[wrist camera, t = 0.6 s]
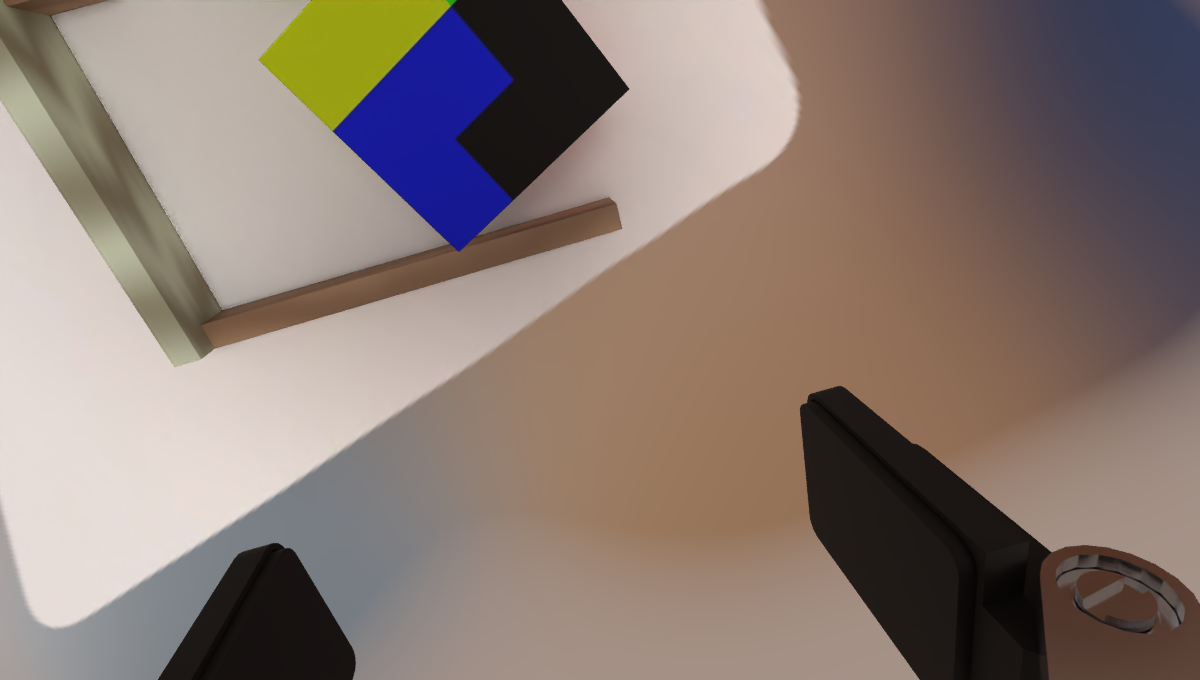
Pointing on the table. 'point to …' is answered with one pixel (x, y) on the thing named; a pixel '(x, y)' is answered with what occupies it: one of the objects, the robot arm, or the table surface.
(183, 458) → the table surface
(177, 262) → the trap box
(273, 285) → the table surface
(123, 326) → the table surface
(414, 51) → the puzzle toy
